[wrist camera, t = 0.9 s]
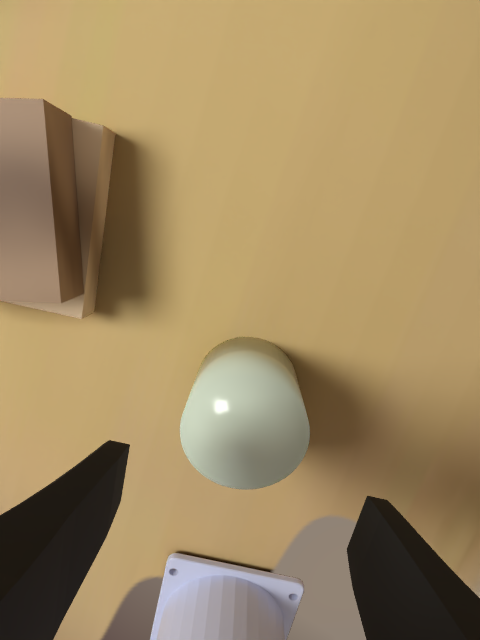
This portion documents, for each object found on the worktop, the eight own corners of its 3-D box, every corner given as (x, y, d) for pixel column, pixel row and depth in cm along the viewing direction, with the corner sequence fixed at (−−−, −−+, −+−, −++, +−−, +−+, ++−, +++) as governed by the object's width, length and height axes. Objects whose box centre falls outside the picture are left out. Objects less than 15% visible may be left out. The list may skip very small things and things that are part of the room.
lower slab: (99, 308, 18) (81, 318, 16) (-61, 273, 18) (-98, 279, 16) (120, 136, 16) (103, 125, 14) (-60, 94, 16) (-103, 77, 14)
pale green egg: (282, 437, 19) (291, 500, 15) (188, 416, 19) (169, 474, 15) (308, 349, 18) (325, 390, 14) (207, 326, 18) (192, 361, 14)
